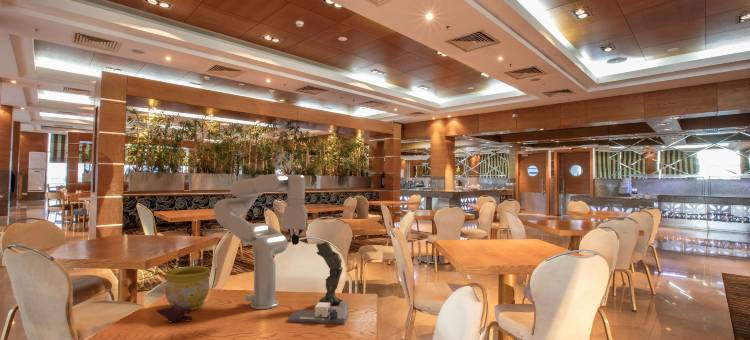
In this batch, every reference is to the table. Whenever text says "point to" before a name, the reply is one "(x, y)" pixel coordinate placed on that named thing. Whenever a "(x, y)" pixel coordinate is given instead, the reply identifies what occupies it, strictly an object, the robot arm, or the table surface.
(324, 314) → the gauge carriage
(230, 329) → the table surface
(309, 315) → the gauge base
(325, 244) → the mechanical leg
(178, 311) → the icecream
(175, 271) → the flowerpot
